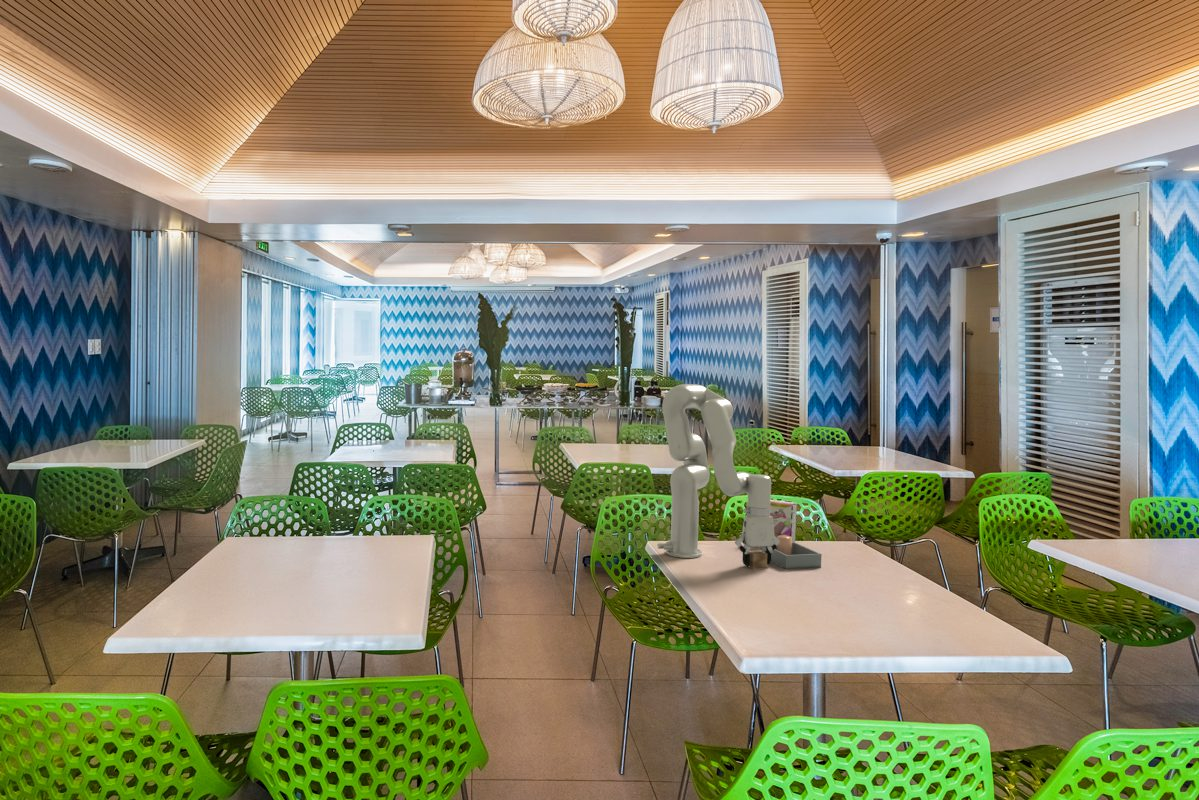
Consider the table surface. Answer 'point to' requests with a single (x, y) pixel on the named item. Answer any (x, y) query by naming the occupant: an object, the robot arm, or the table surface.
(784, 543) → the terracotta cylinder
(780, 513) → the candy bar box
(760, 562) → the walnut cube
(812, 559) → the grey tote
